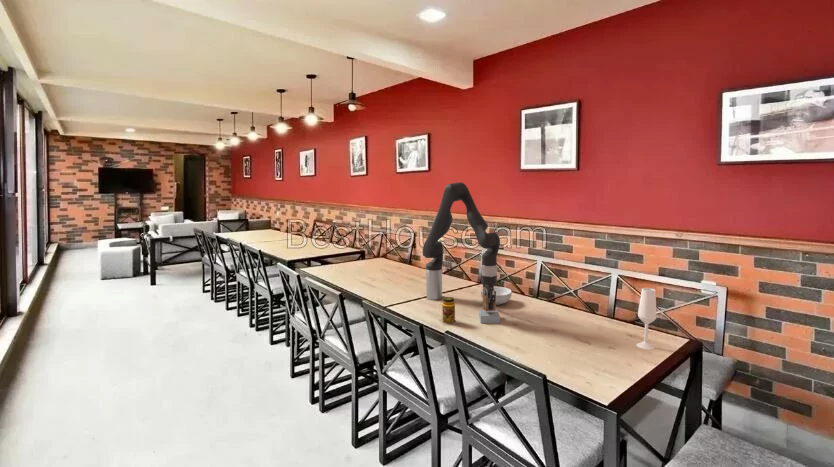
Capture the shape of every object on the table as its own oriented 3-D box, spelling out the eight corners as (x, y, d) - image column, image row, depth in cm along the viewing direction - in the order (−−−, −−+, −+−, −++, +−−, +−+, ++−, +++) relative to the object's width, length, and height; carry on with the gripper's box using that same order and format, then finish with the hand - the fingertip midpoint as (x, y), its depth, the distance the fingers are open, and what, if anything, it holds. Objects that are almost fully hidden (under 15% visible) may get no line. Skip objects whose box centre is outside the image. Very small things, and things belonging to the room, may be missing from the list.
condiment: (444, 325, 200) (444, 301, 198) (438, 319, 208) (438, 296, 206) (458, 323, 202) (458, 299, 200) (452, 317, 210) (451, 294, 208)
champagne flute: (638, 341, 176) (641, 286, 172) (656, 345, 172) (659, 288, 168) (634, 346, 171) (637, 289, 167) (653, 351, 166) (656, 292, 163)
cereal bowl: (475, 300, 237) (475, 288, 236) (499, 296, 244) (499, 284, 243) (492, 309, 222) (492, 296, 221) (517, 304, 228) (517, 292, 227)
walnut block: (482, 308, 207) (482, 294, 206) (492, 307, 208) (492, 293, 207) (485, 311, 202) (485, 297, 201) (495, 310, 203) (495, 296, 202)
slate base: (479, 317, 210) (479, 309, 210) (497, 317, 210) (497, 309, 209) (480, 323, 201) (480, 315, 201) (499, 323, 201) (499, 315, 200)
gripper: (477, 270, 209) (477, 303, 211) (486, 277, 195) (485, 312, 197) (492, 270, 210) (492, 302, 212) (501, 277, 196) (501, 311, 198)
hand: (489, 307), depth 205 cm, fingers closed on walnut block, 5 cm apart
